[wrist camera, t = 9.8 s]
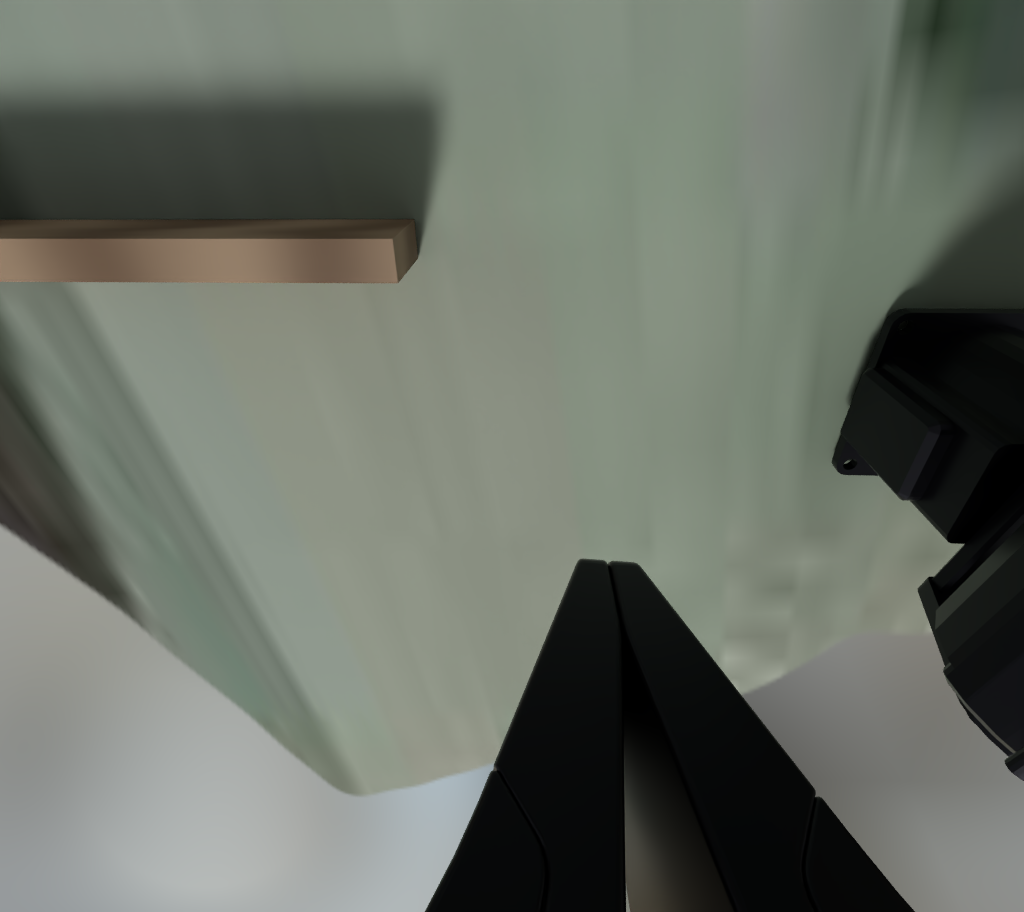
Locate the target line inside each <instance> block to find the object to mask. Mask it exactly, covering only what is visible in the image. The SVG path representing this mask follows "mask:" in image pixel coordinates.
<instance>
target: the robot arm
mask: <svg viewBox="0 0 1024 912" xmlns="http://www.w3.org/2000/svg"><path fill="white" fill-rule="evenodd" d="M906 320H908V323H907V325H906V326H905V327H904V328H903V329H901V330H898V327H899V325H900V324H901V323H902V322H904V321H906ZM841 434H842V435H841V437H840V440H839V443H838V445H837V448H836V450H835V453H834V456H833V458H832V464H833V466H834V467H835V469H836V470H837V471H838V472H839V473H840V474H844V475H875V476H880V477H881V479H882V480H883V481H884V482H885V483H886V484H887V485H888V486H889V487H890V488H891V490H892V491H893V492H894V493H895V494H896V495H897V496H898V497H899V498H900V499H901V500H910V501H911V502H912V503H913V505H914V506H915V507H916V508H917V509H918V510H919V511H920V512H921V513H922V514H923V515H924V516H925V517H926V519H927V520H928V521H929V522H930V523H931V524H932V525H933V526H934V527H935V528H936V529H937V530H938V531H939V532H940V534H941V535H942V536H943V537H944V538H945V539H946V540H947V541H948V542H950V543H958V544H964V546H963V547H962V548H961V549H960V550H959V551H958V552H957V553H956V554H955V555H954V556H953V557H952V558H951V559H950V560H949V561H948V562H947V564H946V565H945V566H944V567H943V568H942V569H941V570H940V571H939V572H938V573H937V574H936V575H935V576H934V577H928V578H927V579H926V580H925V581H924V583H923V584H922V585H921V586H920V587H919V588H918V593H919V596H920V598H921V601H922V604H923V607H924V609H925V612H926V615H927V618H928V620H929V623H930V626H931V629H932V631H933V634H934V637H935V640H936V642H937V645H938V648H939V651H940V653H941V656H942V659H943V662H944V665H945V667H944V670H943V672H944V675H945V677H946V680H947V682H948V684H949V686H950V687H951V688H952V689H953V691H954V692H955V693H956V695H957V697H958V699H959V701H960V703H961V705H962V706H963V708H964V709H965V710H966V712H967V714H968V716H969V718H970V719H971V720H972V721H973V722H974V723H975V724H976V725H977V726H978V727H979V728H980V729H981V730H982V732H983V733H984V734H985V735H986V736H987V737H988V738H989V739H990V740H991V741H992V742H993V743H994V744H996V746H998V747H999V748H1000V749H1001V750H1002V751H1003V752H1004V753H1005V754H1007V756H1009V757H1008V758H1006V760H1005V764H1006V766H1007V767H1008V769H1009V770H1010V771H1011V772H1012V773H1013V774H1014V775H1016V776H1017V777H1018V778H1020V779H1021V780H1023V781H1024V309H901V310H898V311H896V312H894V313H892V314H891V315H890V316H889V317H888V318H887V319H886V321H885V323H884V325H883V328H882V330H881V333H880V336H879V338H878V341H877V343H876V346H875V349H874V351H873V354H872V357H871V359H870V362H869V364H868V367H867V370H866V371H865V372H864V373H863V374H862V376H861V379H860V381H859V384H858V387H857V389H856V392H855V394H854V397H853V400H852V402H851V405H850V408H849V410H848V413H847V415H846V418H845V421H844V423H843V426H842V429H841ZM849 459H852V460H851V461H850V462H849V463H847V464H844V463H845V462H846V461H847V460H849ZM815 794H816V792H815V789H814V788H813V786H812V785H811V784H810V782H809V781H808V780H807V779H806V777H805V776H804V775H803V774H802V772H801V771H800V770H799V768H798V767H797V766H796V765H795V763H794V762H793V761H792V759H791V758H790V757H789V756H788V754H787V753H786V752H785V750H784V749H783V748H782V747H781V745H780V744H779V743H778V742H777V740H776V739H775V738H774V736H773V735H772V734H771V733H770V731H769V730H768V729H767V728H766V726H765V725H764V724H763V722H762V721H761V720H760V719H759V717H758V716H757V715H756V714H755V712H754V711H753V710H752V708H751V707H750V706H749V705H748V703H747V702H746V701H745V699H744V698H743V697H742V696H741V694H740V693H739V692H738V690H737V689H736V688H735V687H734V685H733V684H732V683H731V682H730V680H729V679H728V678H727V676H726V675H725V674H724V673H723V671H722V670H721V669H720V667H719V666H718V665H717V664H716V662H715V661H714V660H713V659H712V657H711V656H710V655H709V653H708V652H707V651H706V650H705V648H704V647H703V646H702V644H701V643H700V642H699V641H698V639H697V638H696V637H695V636H694V634H693V633H692V632H691V630H690V629H689V628H688V627H687V625H686V624H685V623H684V621H683V620H682V619H681V618H680V616H679V615H678V614H677V613H676V611H675V610H674V609H673V607H672V606H671V605H670V604H669V602H668V601H667V600H666V598H665V597H664V596H663V595H662V593H661V592H660V591H659V590H658V588H657V587H656V586H655V584H654V583H653V582H652V581H651V579H650V578H649V577H648V575H647V574H646V573H645V572H644V570H643V569H642V568H641V567H640V566H639V565H638V564H637V563H634V562H622V561H611V562H609V563H608V564H607V562H606V561H604V560H594V559H580V560H579V561H578V562H577V564H576V566H575V569H574V571H573V574H572V576H571V579H570V581H569V583H568V586H567V588H566V591H565V593H564V596H563V598H562V600H561V603H560V605H559V608H558V610H557V613H556V615H555V617H554V620H553V622H552V625H551V627H550V630H549V632H548V634H547V637H546V639H545V642H544V644H543V647H542V649H541V651H540V654H539V656H538V659H537V661H536V664H535V666H534V668H533V671H532V673H531V676H530V678H529V681H528V683H527V685H526V688H525V690H524V693H523V695H522V698H521V700H520V702H519V705H518V707H517V710H516V712H515V715H514V717H513V719H512V722H511V724H510V727H509V729H508V732H507V734H506V737H505V739H504V741H503V744H502V746H501V749H500V751H499V754H498V756H497V758H496V761H495V763H494V770H493V771H491V773H490V774H489V777H488V779H487V782H486V784H485V786H484V789H483V791H482V794H481V797H480V799H479V801H478V804H477V806H476V808H475V810H474V813H473V815H472V817H471V820H470V821H469V824H468V826H467V828H466V830H465V833H464V835H463V837H462V839H461V842H460V844H459V846H458V848H457V850H456V853H455V855H454V857H453V859H452V861H451V863H450V865H449V867H448V868H447V870H446V872H445V874H444V876H443V878H442V880H441V882H440V884H439V886H438V888H437V890H436V891H435V893H434V895H433V897H432V899H431V901H430V903H429V905H428V907H427V909H426V911H425V912H626V886H627V893H628V900H629V907H630V912H915V911H914V910H913V909H912V908H911V907H910V906H909V905H908V903H907V902H906V901H905V900H904V899H903V898H902V897H901V896H900V894H899V893H898V892H897V891H896V890H895V888H894V887H893V886H892V885H891V883H890V882H889V881H888V880H887V879H886V877H885V876H884V875H883V874H882V872H881V871H880V870H879V869H878V868H877V866H876V865H875V864H874V863H873V861H872V860H871V859H870V858H869V856H868V855H867V854H866V853H865V851H863V849H862V848H861V847H860V845H859V844H858V843H857V842H856V840H855V839H854V838H853V837H852V836H851V834H850V833H849V832H848V831H847V829H846V828H845V827H844V825H843V824H842V823H841V822H840V820H839V819H838V818H837V816H836V815H835V814H834V813H833V812H832V810H831V809H830V808H829V806H828V805H827V804H826V802H825V801H824V800H823V799H822V798H821V797H815Z"/></svg>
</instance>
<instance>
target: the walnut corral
mask: <svg viewBox="0 0 1024 912" xmlns="http://www.w3.org/2000/svg"><path fill="white" fill-rule="evenodd" d="M417 259H418V252H417V242H416V232H415V222H414V219H218V220H0V282H231V283H399V281H400V280H401V279H402V278H403V276H404V275H405V274H406V273H407V271H408V270H409V269H410V268H411V266H412V265H413V264H414V263H415V261H416V260H417Z"/></svg>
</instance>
